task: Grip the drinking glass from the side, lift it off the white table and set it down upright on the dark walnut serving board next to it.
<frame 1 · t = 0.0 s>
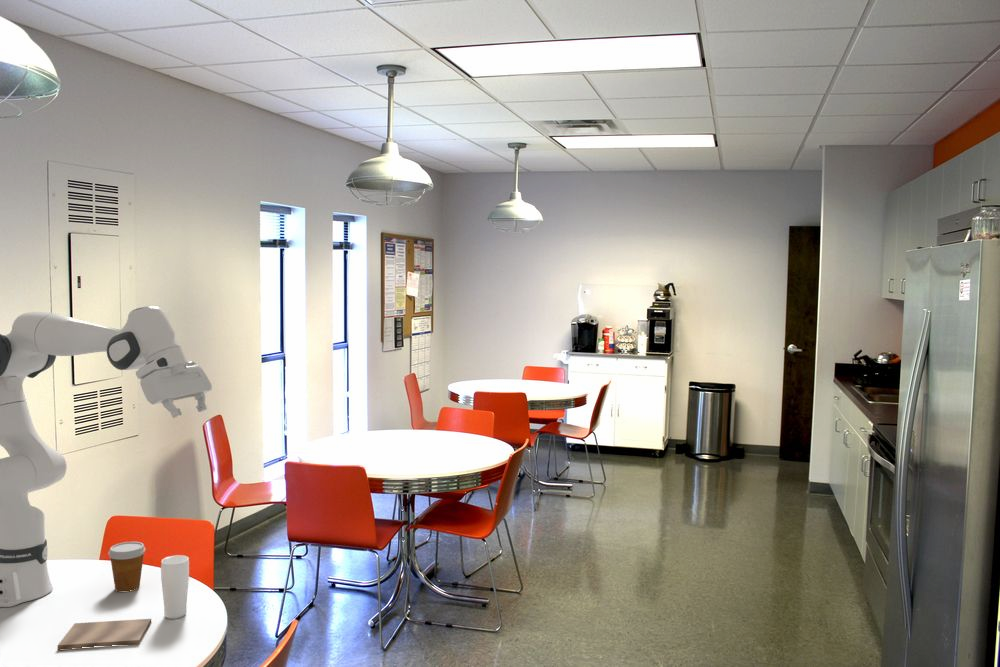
hand: (190, 413, 195), 54 cm above the table, tool tilted 30°, fingers open, 8 cm apart
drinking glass: (175, 616, 203), on the table
disposable coffee cup: (127, 588, 220), on the table
walnut board: (106, 636, 191), on the table
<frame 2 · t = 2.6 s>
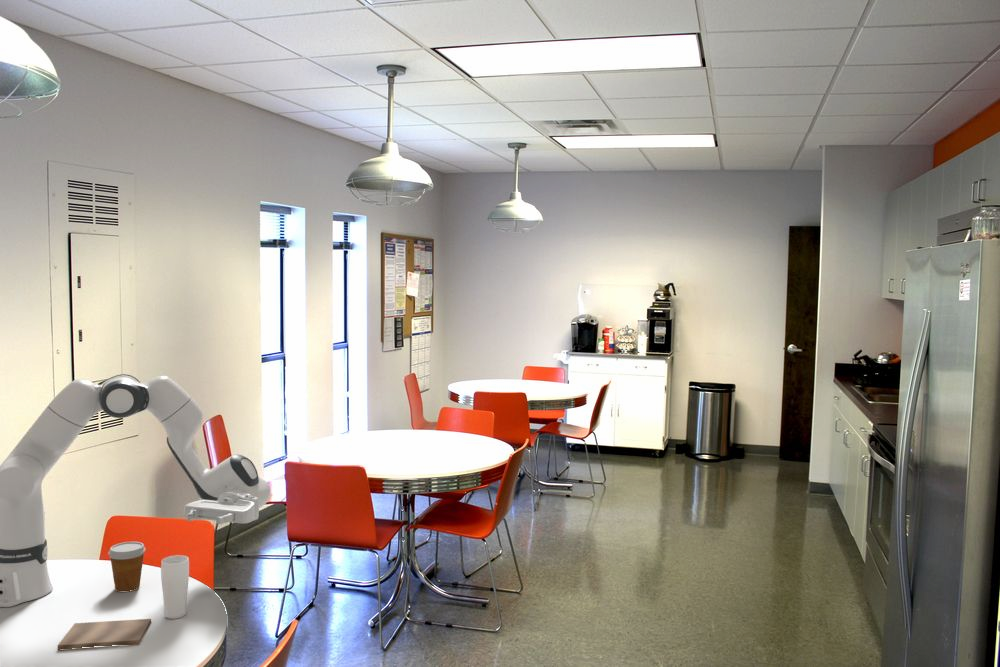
hand: (203, 519, 213), 22 cm above the table, tool horizontal, fingers open, 8 cm apart
nothing on the table moved.
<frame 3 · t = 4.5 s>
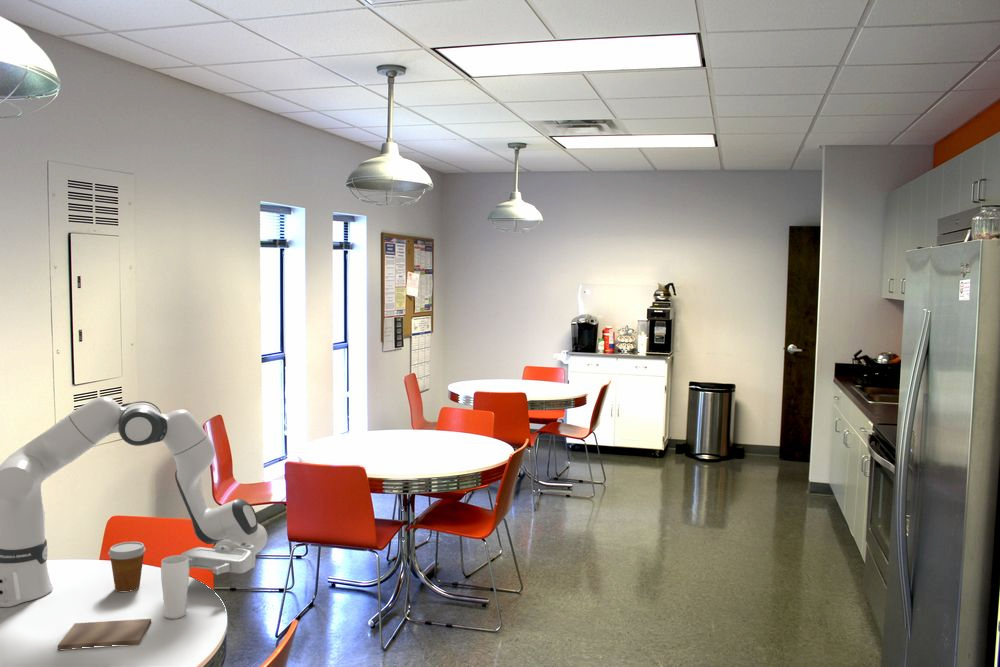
hand: (199, 569, 213), 8 cm above the table, tool horizontal, fingers open, 8 cm apart
nothing on the table moved.
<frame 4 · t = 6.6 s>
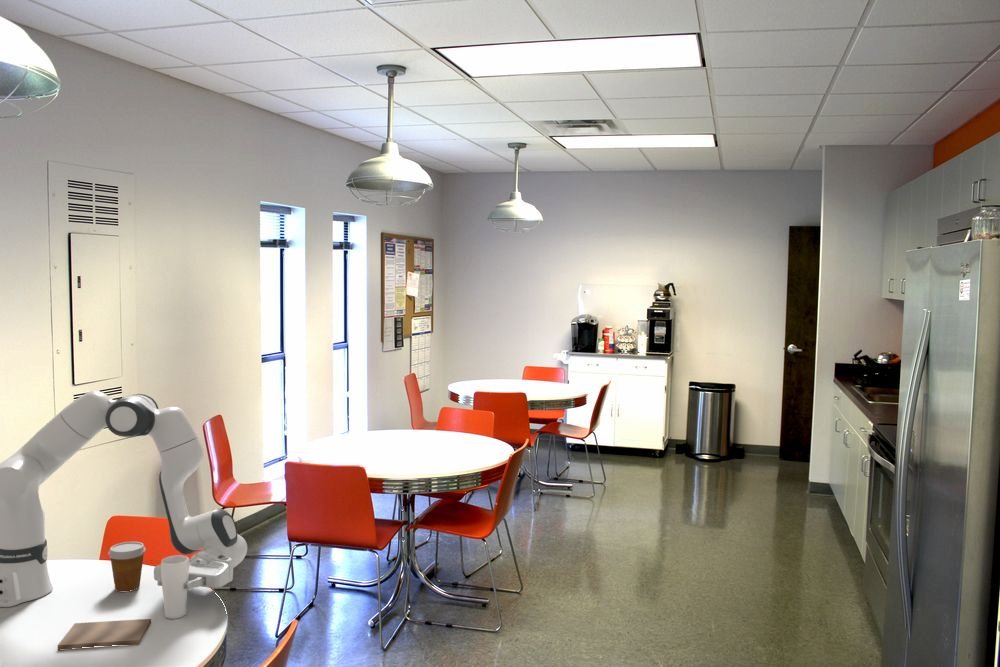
hand: (172, 584, 202), 9 cm above the table, tool horizontal, fingers closed on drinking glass, 7 cm apart
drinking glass: (175, 616, 203), on the table, touching gripper
everything else where it was.
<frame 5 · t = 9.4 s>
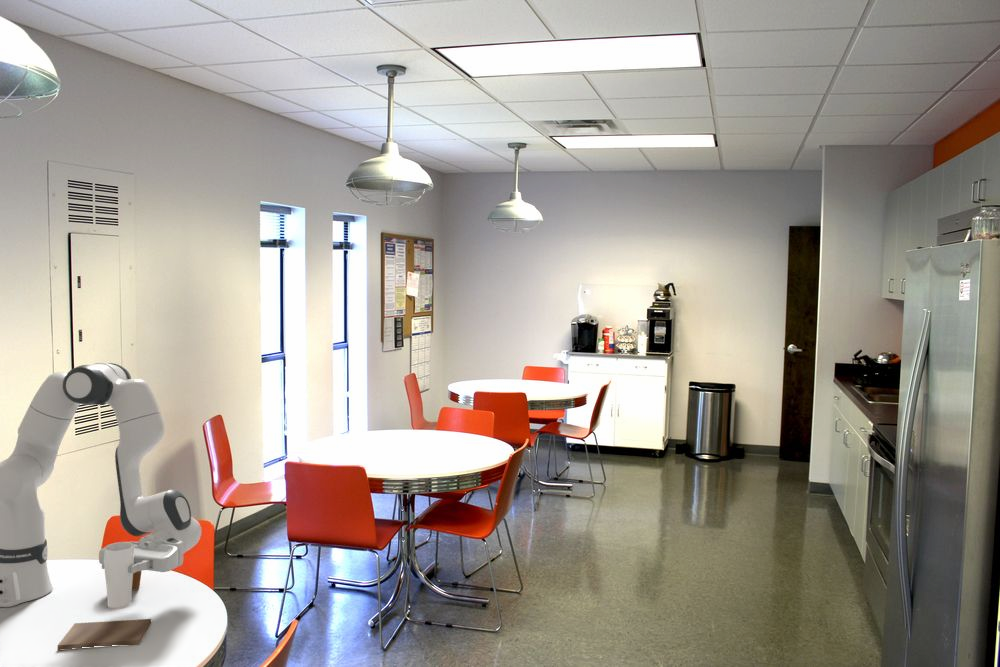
hand: (117, 568, 191), 16 cm above the table, tool horizontal, fingers closed on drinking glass, 6 cm apart
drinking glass: (119, 605, 193), point 7 cm above the table, touching gripper
everything else where it was.
when the fingers open (11 cm above the table, at t = 11.7 s): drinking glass stays where it is, resting on walnut board.
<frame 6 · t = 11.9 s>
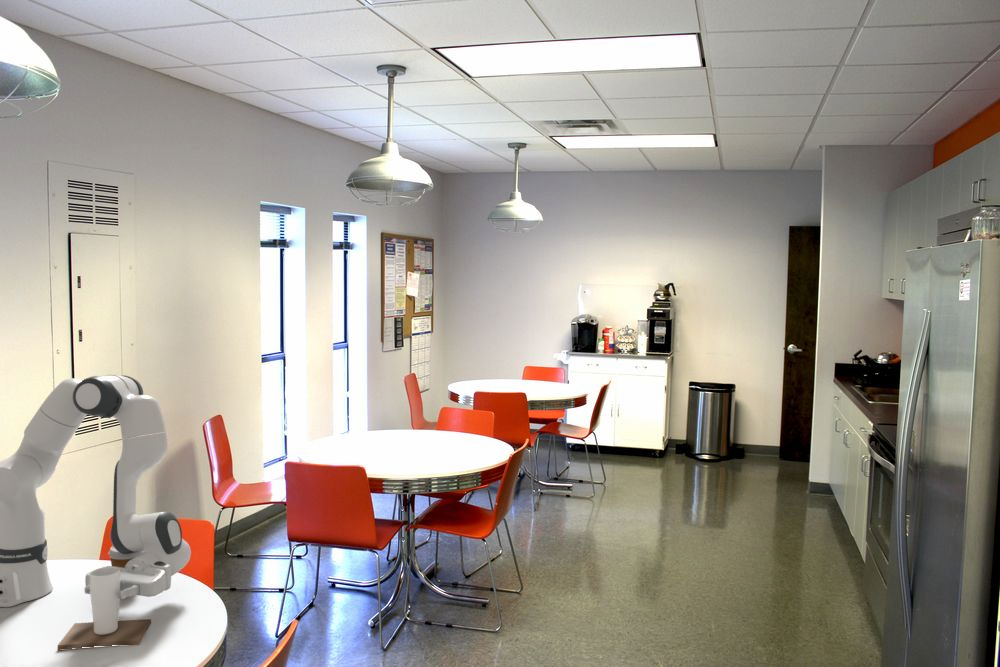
hand: (103, 593, 189), 11 cm above the table, tool horizontal, fingers open, 8 cm apart
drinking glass: (106, 631, 191), point 1 cm above the table, touching walnut board
everything else where it was.
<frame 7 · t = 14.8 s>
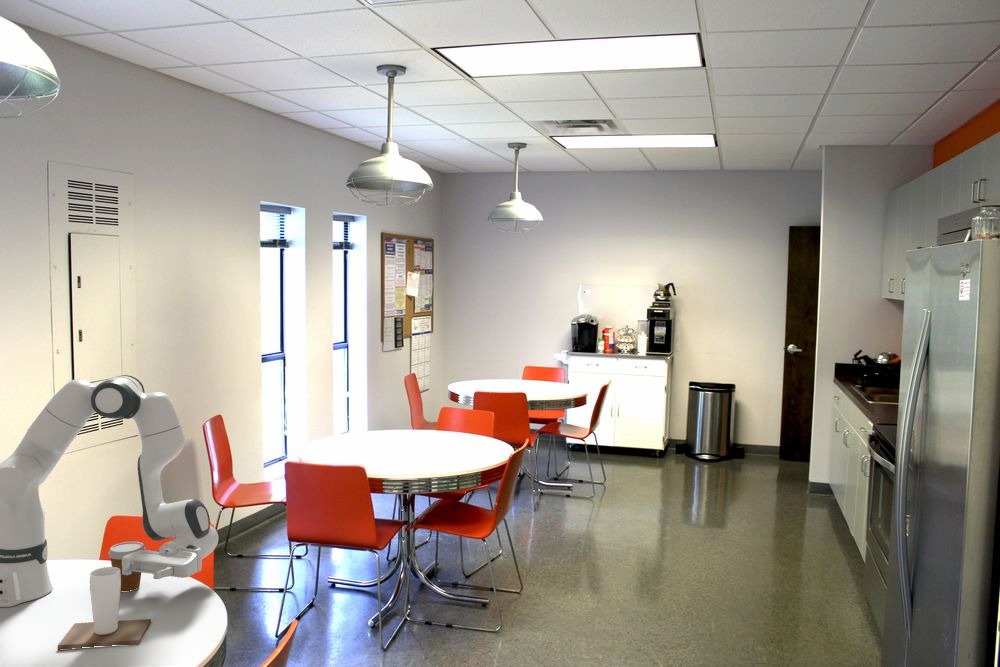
hand: (139, 574, 202), 11 cm above the table, tool horizontal, fingers open, 8 cm apart
nothing on the table moved.
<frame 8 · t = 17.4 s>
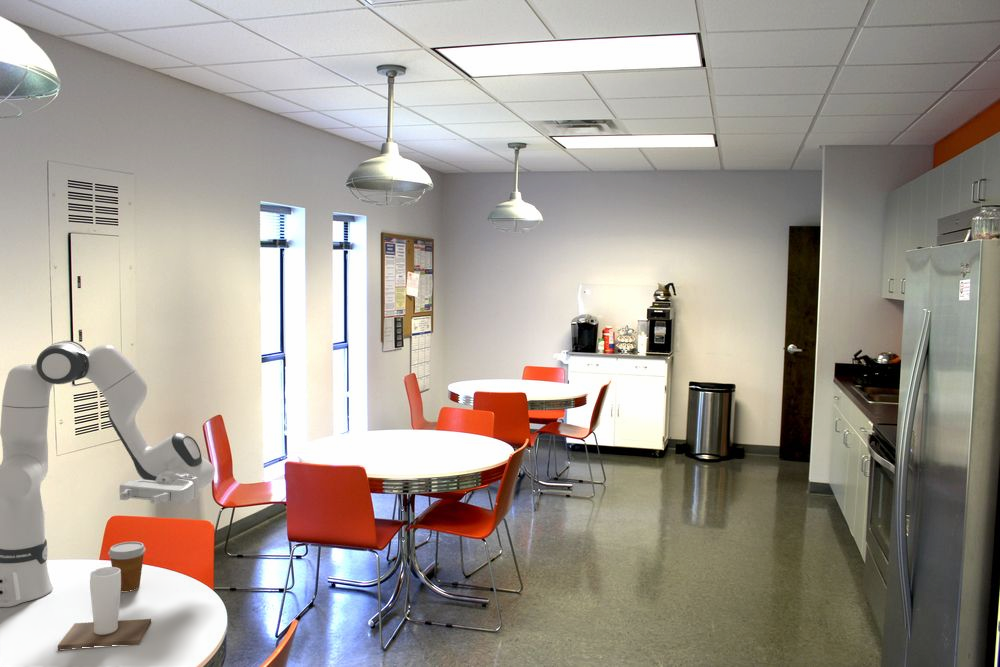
hand: (137, 498, 204), 30 cm above the table, tool horizontal, fingers open, 8 cm apart
nothing on the table moved.
at the end: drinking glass inside the target area on the walnut board (0.1 cm from its centre), point 1.0 cm above the walnut board's base; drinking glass tilted 0°; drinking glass touching walnut board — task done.
